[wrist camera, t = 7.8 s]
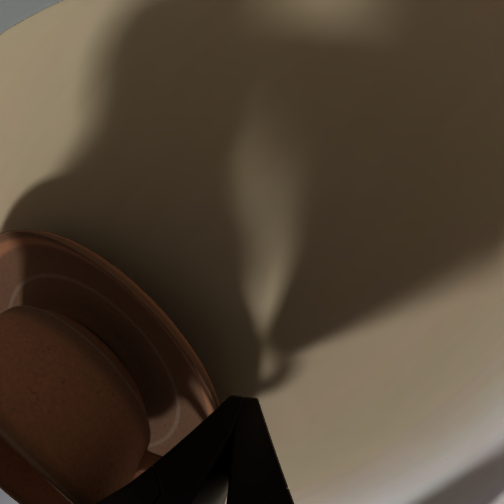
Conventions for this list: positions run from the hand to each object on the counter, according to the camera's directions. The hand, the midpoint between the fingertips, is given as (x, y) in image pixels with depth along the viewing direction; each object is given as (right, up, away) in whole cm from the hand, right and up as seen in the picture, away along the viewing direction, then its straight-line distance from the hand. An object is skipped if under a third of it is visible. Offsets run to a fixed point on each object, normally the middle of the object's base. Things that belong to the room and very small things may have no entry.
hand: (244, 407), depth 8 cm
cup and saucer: (-6, 0, +3) cm, 7 cm away
